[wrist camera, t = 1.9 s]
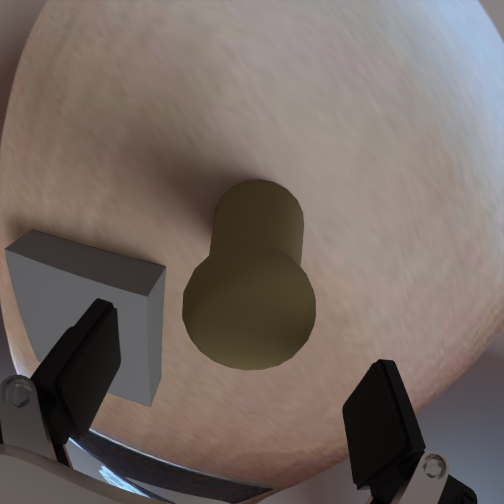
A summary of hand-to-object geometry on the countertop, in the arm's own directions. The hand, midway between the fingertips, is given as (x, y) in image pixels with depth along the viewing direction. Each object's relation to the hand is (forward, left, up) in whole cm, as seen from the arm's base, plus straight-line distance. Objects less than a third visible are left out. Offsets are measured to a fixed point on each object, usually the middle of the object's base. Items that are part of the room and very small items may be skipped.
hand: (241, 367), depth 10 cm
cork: (-1, 0, -12) cm, 12 cm away
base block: (+11, -13, -12) cm, 21 cm away
